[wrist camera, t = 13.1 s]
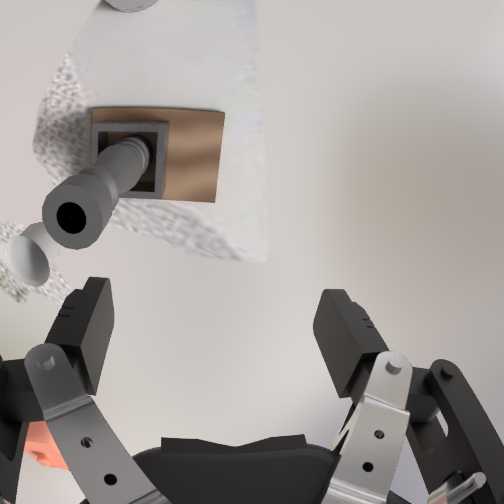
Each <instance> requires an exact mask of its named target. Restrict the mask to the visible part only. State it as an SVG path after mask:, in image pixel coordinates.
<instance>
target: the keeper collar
mask: <svg viewBox="0 0 504 504" xmlns="http://www.w3.org/2000/svg"><path fill="white" fill-rule="evenodd" d="M169 130H170V121H144V120H102V121H99V122H97V123H94V124H92V131H91V167H94V164H95V162H96V160H97V158H98V156H99V154H100V153H101V152H102V151H104V150H105V149H106V148H107V147H108V131H130V132H158V140H157V155H156V174H155V182H146V181H138V182H137V183H136V185H135V186H134V187H133V188H131V189H130V190H129V191H126V192H124V193H121V194H119V198H141V199H161V200H162V197H163V194H164V192H165V189H166V172H167V156H168V142H169Z"/></svg>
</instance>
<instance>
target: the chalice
mask: <svg viewBox="0 0 504 504" xmlns="http://www.w3.org/2000/svg"><path fill="white" fill-rule="evenodd" d="M59 251H60V244H59V243H57V242H55V241H54V240H53V238H52V237H51V236H50V235H49V234H48V232H47V230H46V228H45V225H44V223H43V222H39V223H34V224H31V225H30V226H28V227H27V228H26V229H25V230H24V231H23V232H22V233H21V234H20V235H19V236H15V237H12V238H11V239H10V240H9V241H8V242H7V245H6V248H5V257H6V261H7V264H8V266H9V268H10V270H11V272H12V273H13V274H14V275H15V277H16V278H18V279H19V280H20V281H21V282H23V283H25V284H27V285H29V286H34V287H37V286H41V285H43V284H44V283H45V282H47V280H48V278H49V272H50V268H51V267H52V266H53V264H54V263H55V261H56V260H57V258H58V256H59Z"/></svg>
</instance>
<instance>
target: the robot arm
mask: <svg viewBox="0 0 504 504" xmlns="http://www.w3.org/2000/svg"><path fill="white" fill-rule="evenodd" d="M105 1H106V2H108V3H109V4H110V5H111V6H113V7H114V8H115V9H117V10H119V11H123V12H137V11H140V10H144V9H146V8H148V7H150V6H151V5H153V4H154V3H155V2H156V1H157V0H105ZM113 326H114V307H113V300H112V292H111V283H110V279H109V278H101V277H89V278H88V280H87V282H86V284H85V286H84V288H83V290H80V289H75V290H74V291H73V292H72V293H71V294H69V295H68V296H67V297H66V299H65V301H64V303H63V305H62V308H61V309H60V311H59V313H58V316H57V317H56V319H55V321H54V323H53V325H52V327H51V329H50V331H49V333H48V336H47V338H46V340H45V342H44V344H40V345H37V346H35V347H34V348H32V349H31V350H30V351H29V352H28V353H27V355H26V357H25V358H24V359H17V360H8V361H3V359H2V357H1V355H0V504H15V502H16V494H17V486H18V479H19V473H20V467H21V462H22V457H23V451H24V446H25V442H26V437H27V433H28V428H29V424H30V422H38V421H45V422H46V425H47V427H48V429H49V431H50V433H51V435H52V437H53V439H54V441H55V443H56V445H57V447H58V449H59V451H60V453H61V455H62V457H63V459H64V461H65V463H66V464H67V466H68V468H69V470H70V472H71V473H72V475H73V477H74V479H75V480H76V482H77V483H78V485H79V487H80V488H81V490H82V492H83V493H84V495H85V497H86V498H85V499H84V500H83V501H82V502H81V503H80V504H411V503H409V502H408V501H406V500H405V499H403V498H402V497H400V496H398V495H397V494H395V493H394V492H392V491H391V490H389V489H390V486H391V483H392V480H393V477H394V473H395V470H396V467H397V463H398V460H399V456H400V453H401V449H402V445H403V441H404V437H405V434H406V436H407V439H408V441H409V444H410V446H411V449H412V451H413V454H414V456H415V458H416V461H417V464H418V467H419V469H420V472H421V475H422V477H423V480H424V482H425V485H426V488H427V491H428V493H429V498H428V500H427V504H504V445H503V444H502V442H501V440H500V438H499V436H498V434H497V432H496V430H495V429H494V427H493V425H492V423H491V421H490V420H489V418H488V416H487V414H486V412H485V411H484V409H483V407H482V406H481V404H480V402H479V400H478V399H477V397H476V395H475V394H474V392H473V390H472V389H471V387H470V386H469V384H468V382H467V381H466V379H465V377H464V376H463V374H462V372H461V371H460V369H459V368H458V367H457V366H456V365H455V364H453V363H452V362H450V361H447V360H444V359H439V360H436V361H434V362H433V363H432V365H431V367H430V368H429V369H424V368H416V367H412V366H411V363H410V362H409V361H408V359H406V358H405V357H404V356H403V355H401V354H398V353H396V352H392V351H390V350H389V349H388V347H387V346H386V344H385V342H384V340H383V339H382V337H381V335H380V334H379V332H378V331H377V329H376V328H375V327H374V324H373V322H372V321H371V320H370V318H369V316H368V314H367V313H366V311H365V310H364V309H363V308H362V307H361V306H359V305H358V304H357V303H356V302H352V301H351V300H350V298H349V296H348V295H347V293H346V291H345V290H343V289H325V290H324V291H323V293H322V296H321V299H320V302H319V305H318V308H317V312H316V315H315V318H314V322H313V331H314V336H315V338H316V341H317V343H318V346H319V348H320V350H321V353H322V356H323V358H324V361H325V363H326V366H327V368H328V371H329V373H330V376H331V378H332V381H333V383H334V386H335V388H336V391H337V393H338V396H339V398H347V397H351V399H352V403H351V405H350V407H349V409H348V411H347V414H346V416H345V418H344V420H343V423H342V425H341V427H340V430H339V432H338V434H337V436H336V438H335V440H334V442H333V444H332V446H331V448H330V449H327V448H324V447H321V446H318V445H313V444H307V443H306V439H305V435H304V434H302V435H293V436H280V437H270V438H267V439H264V440H260V441H256V442H253V443H250V444H245V445H242V446H238V447H233V446H228V445H222V444H217V443H213V442H208V441H204V440H199V439H180V438H161V447H157V448H152V449H148V450H145V451H143V452H140V453H138V454H136V455H134V456H132V457H131V456H130V454H129V453H128V452H127V450H126V449H125V447H124V446H123V445H122V443H121V442H120V440H119V439H118V438H117V436H116V435H115V433H114V432H113V430H112V429H111V427H110V426H109V424H108V423H107V421H106V420H105V418H104V417H103V415H102V413H101V412H100V410H99V409H98V407H97V405H96V404H95V402H94V401H93V399H92V398H91V396H88V395H95V396H96V392H97V388H98V384H99V380H100V375H101V371H102V367H103V363H104V359H105V355H106V351H107V348H108V344H109V341H110V337H111V334H112V330H113ZM87 394H88V395H87ZM439 411H441V413H442V415H443V417H444V419H445V421H446V423H447V425H448V435H447V437H446V436H445V433H444V431H443V429H442V427H441V425H440V423H439V421H438V419H437V417H436V415H437V413H438V412H439Z"/></svg>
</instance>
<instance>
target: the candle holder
mask: <svg viewBox="0 0 504 504" xmlns="http://www.w3.org/2000/svg"><path fill="white" fill-rule="evenodd" d="M153 154H154V151H153V147H152V144H151V143H150V141H149V140H148V139H147V138H146V137H144V136H142V135H140V134H129V135H126V136H124V137H122V138H121V139H119V140H118V141H117V142H116V143H114V144H113V146H109V147H107V148H106V149H105V150H104V151H102V152H101V153H100V154H99V156H98V158H97V160H96V162H95V164H94V167H90V168H86V169H83V170H82V171H80V172H79V173H78V174H76V175H73V176H70V177H68V178H67V179H66V180H64V181H63V182H62V183H61V184H59V185H58V186H57V187H55V188H54V189H53V190H52V191H51V192H50V193H49V194H48V195H47V196H46V199H45V201H44V204H43V207H42V220H43V223H44V225H45V228H46V230H47V232H48V234H49V235H50V236H51V237H52V238H53V240H54V241H55V242H57V243H59V244H60V245H62V246H64V247H66V248H70V249H76V250H78V249H82V248H86V247H89V246H90V245H91V244H93V243H94V242H95V241H96V240H97V239H98V238H99V236H100V234H101V233H102V231H103V230H104V228H105V226H106V225H107V223H108V221H109V219H110V217H111V215H112V211H113V210H114V208H115V206H116V204H117V203H118V200H119V194H121V193H124V192H126V191H129V190H130V189H131V188H133V187H134V186H135V185H136V183H137V182H138V180H139V178H140V177H141V175H142V174H143V173H144V172H145V171H146V170H147V168H148V167H149V165H150V164H151V162H152V160H153Z"/></svg>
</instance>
